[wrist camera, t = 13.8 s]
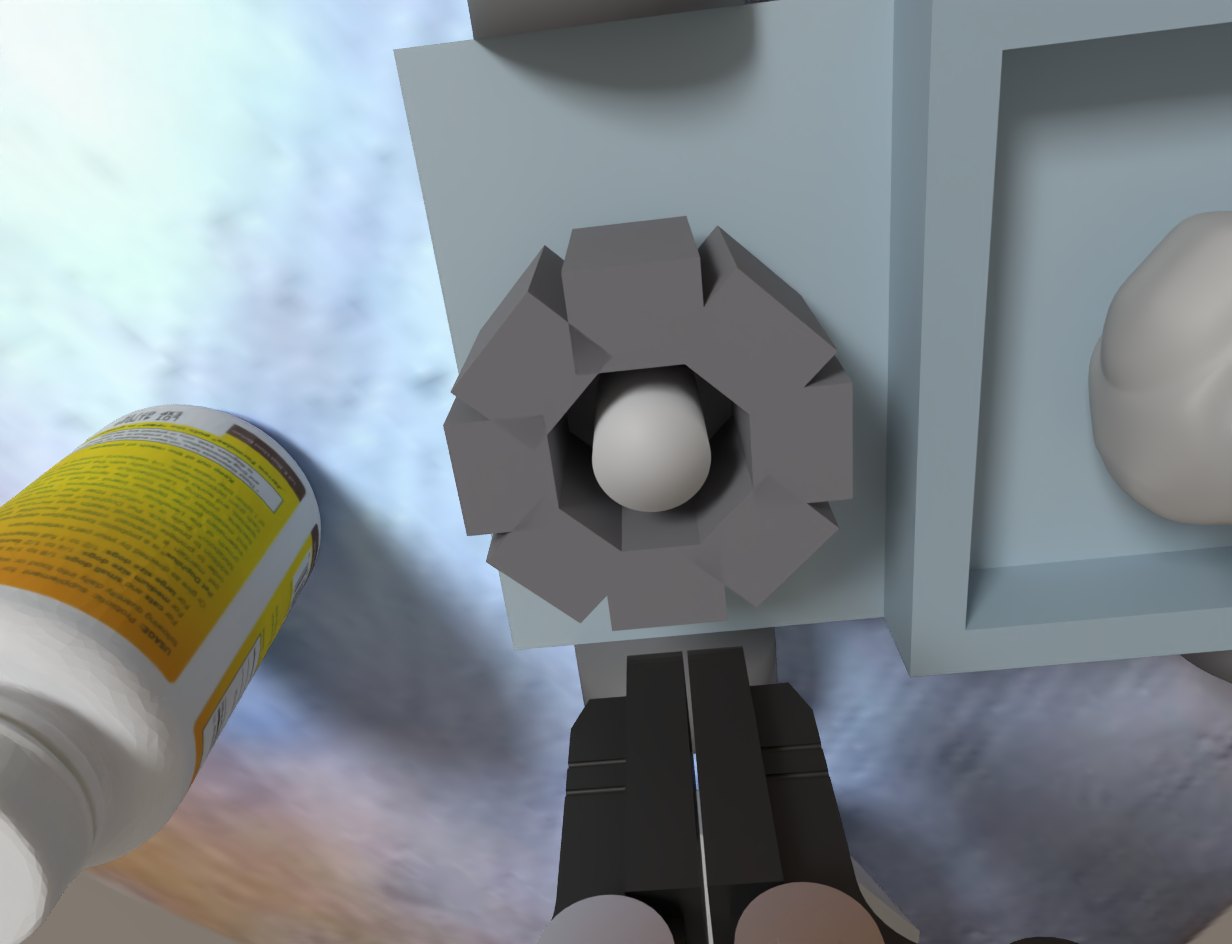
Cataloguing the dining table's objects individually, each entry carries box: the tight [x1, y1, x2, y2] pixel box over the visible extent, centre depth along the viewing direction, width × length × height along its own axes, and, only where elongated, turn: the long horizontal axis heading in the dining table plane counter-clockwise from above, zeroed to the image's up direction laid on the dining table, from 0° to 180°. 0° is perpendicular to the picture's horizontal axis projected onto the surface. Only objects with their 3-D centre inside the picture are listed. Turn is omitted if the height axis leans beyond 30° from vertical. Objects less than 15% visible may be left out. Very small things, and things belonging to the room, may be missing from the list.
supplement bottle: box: [0, 404, 321, 944], centre depth 17 cm, size 6×6×10 cm
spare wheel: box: [443, 216, 853, 631], centre depth 15 cm, size 6×6×3 cm
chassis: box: [394, 0, 1232, 754], centre depth 16 cm, size 15×20×6 cm
